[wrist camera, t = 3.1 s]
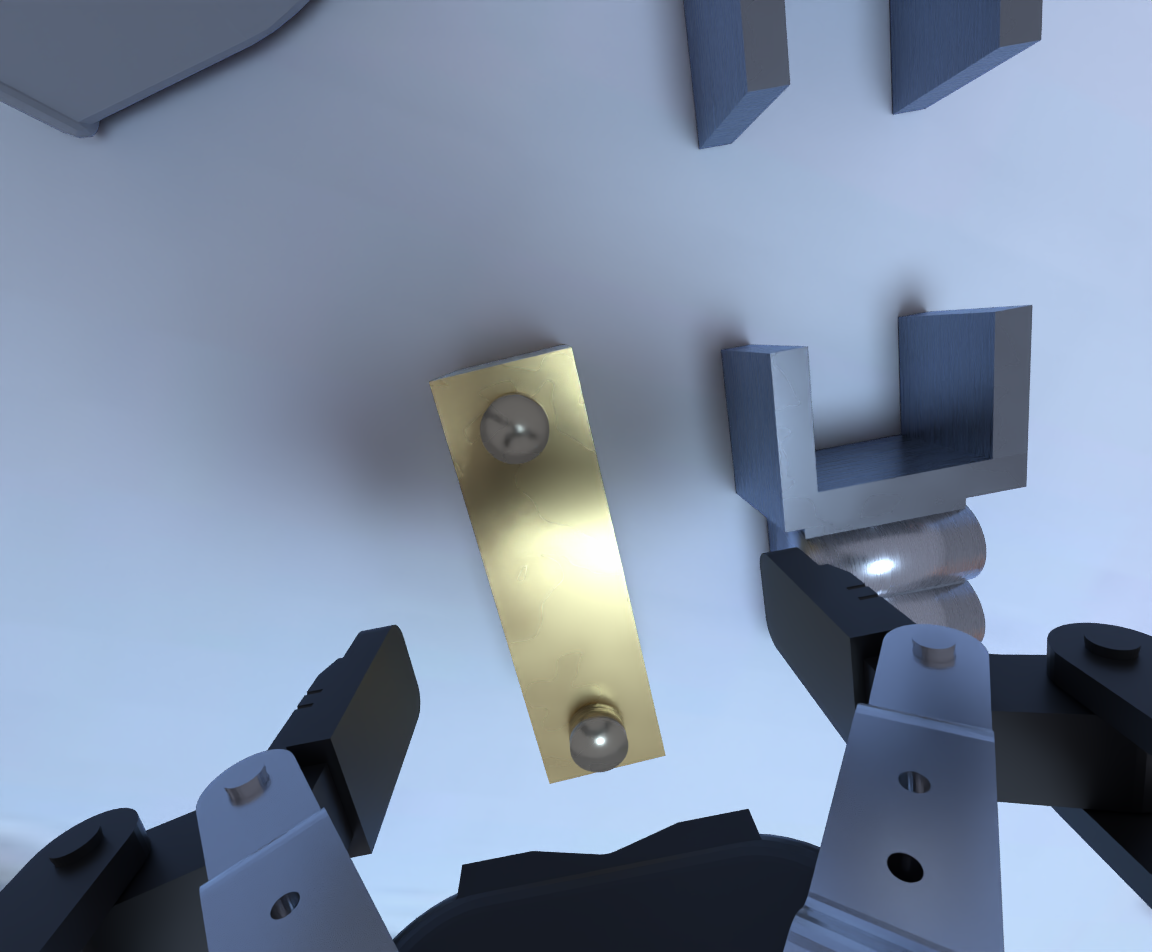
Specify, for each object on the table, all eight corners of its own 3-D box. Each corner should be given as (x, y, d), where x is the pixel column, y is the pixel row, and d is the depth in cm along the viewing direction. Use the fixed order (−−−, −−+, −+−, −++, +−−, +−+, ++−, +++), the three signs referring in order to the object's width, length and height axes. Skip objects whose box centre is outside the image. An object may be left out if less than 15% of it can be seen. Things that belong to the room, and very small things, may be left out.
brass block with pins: (547, 680, 21) (550, 806, 15) (459, 369, 18) (422, 384, 12) (636, 658, 21) (671, 776, 15) (563, 344, 18) (573, 348, 12)
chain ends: (752, 642, 21) (800, 712, 17) (647, -334, 14) (689, -595, 10) (931, 607, 21) (1019, 669, 17) (918, -379, 14) (1064, -653, 10)
